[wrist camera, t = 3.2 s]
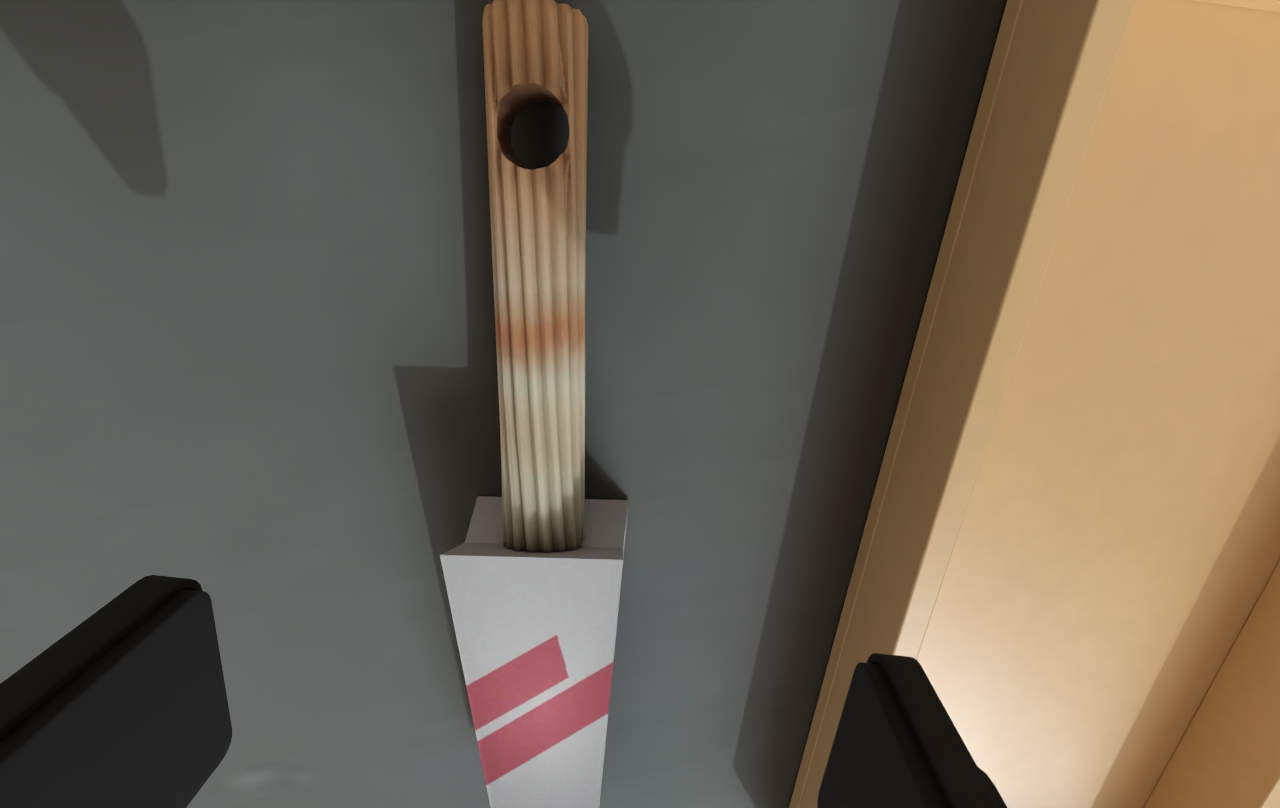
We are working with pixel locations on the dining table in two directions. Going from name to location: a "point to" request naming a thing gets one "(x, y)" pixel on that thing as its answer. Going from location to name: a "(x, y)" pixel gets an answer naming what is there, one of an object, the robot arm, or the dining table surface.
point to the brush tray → (1095, 422)
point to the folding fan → (538, 450)
